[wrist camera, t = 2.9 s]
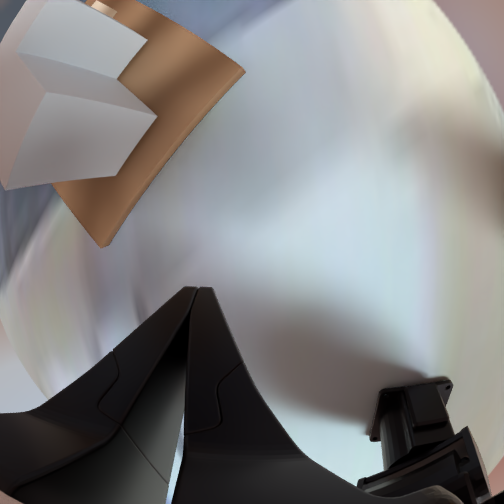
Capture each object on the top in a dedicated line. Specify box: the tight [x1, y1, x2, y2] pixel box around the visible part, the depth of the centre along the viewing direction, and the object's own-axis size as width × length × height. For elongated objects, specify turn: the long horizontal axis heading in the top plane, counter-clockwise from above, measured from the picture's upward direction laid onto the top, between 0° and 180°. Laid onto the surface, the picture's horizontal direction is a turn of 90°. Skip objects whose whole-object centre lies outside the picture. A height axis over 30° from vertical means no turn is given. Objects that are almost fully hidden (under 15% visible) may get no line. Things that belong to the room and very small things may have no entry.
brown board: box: [51, 0, 246, 248], centre depth 17 cm, size 18×16×1 cm
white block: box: [0, 0, 158, 190], centre depth 13 cm, size 8×12×9 cm, turn 137°
